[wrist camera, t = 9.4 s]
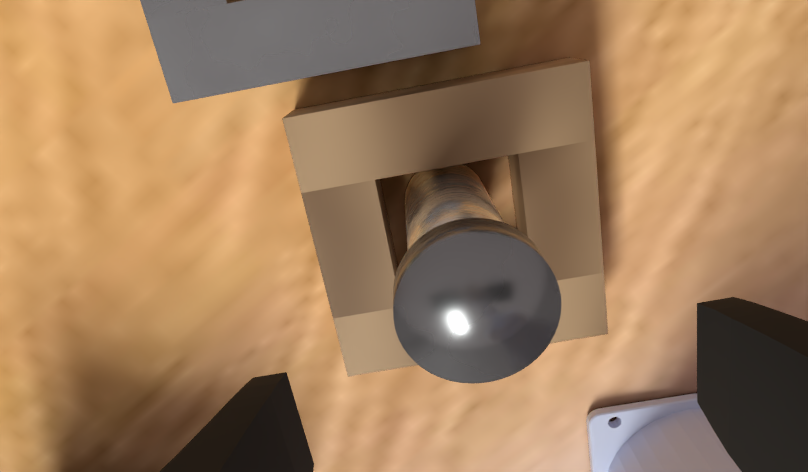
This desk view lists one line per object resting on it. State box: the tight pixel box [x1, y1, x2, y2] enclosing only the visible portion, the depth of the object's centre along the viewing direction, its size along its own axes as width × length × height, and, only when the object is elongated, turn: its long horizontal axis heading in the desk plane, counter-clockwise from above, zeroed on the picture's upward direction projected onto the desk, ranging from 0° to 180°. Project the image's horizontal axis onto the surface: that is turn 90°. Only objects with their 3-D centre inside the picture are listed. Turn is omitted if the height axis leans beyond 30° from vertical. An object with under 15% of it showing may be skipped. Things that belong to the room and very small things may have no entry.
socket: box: [283, 57, 608, 376], centre depth 19 cm, size 9×9×2 cm
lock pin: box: [393, 164, 562, 383], centre depth 16 cm, size 4×4×8 cm
